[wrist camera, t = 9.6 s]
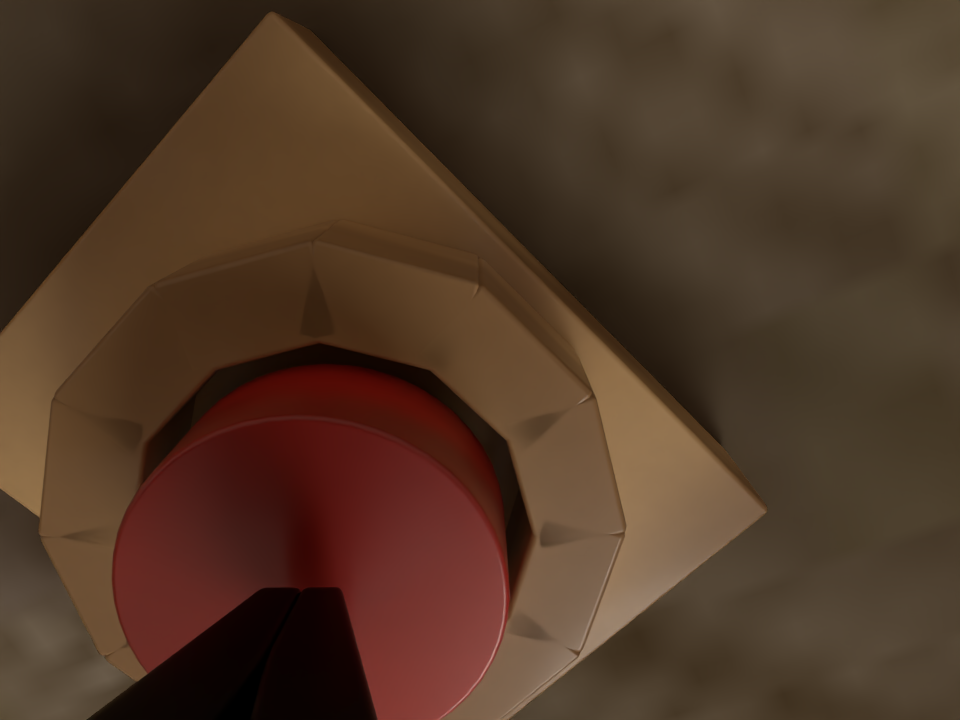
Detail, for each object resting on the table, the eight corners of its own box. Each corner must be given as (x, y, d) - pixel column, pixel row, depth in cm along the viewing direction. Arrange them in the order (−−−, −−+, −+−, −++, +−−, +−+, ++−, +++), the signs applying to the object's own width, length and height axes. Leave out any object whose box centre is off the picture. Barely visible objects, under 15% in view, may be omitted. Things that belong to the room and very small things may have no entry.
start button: (573, 519, 10) (593, 599, 8) (351, 710, 11) (328, 816, 9) (322, 289, 9) (288, 329, 7) (102, 521, 10) (27, 602, 8)
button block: (726, 450, 14) (822, 580, 10) (421, 705, 15) (404, 899, 12) (307, 26, 12) (224, -16, 8) (5, 379, 13) (-185, 487, 9)
